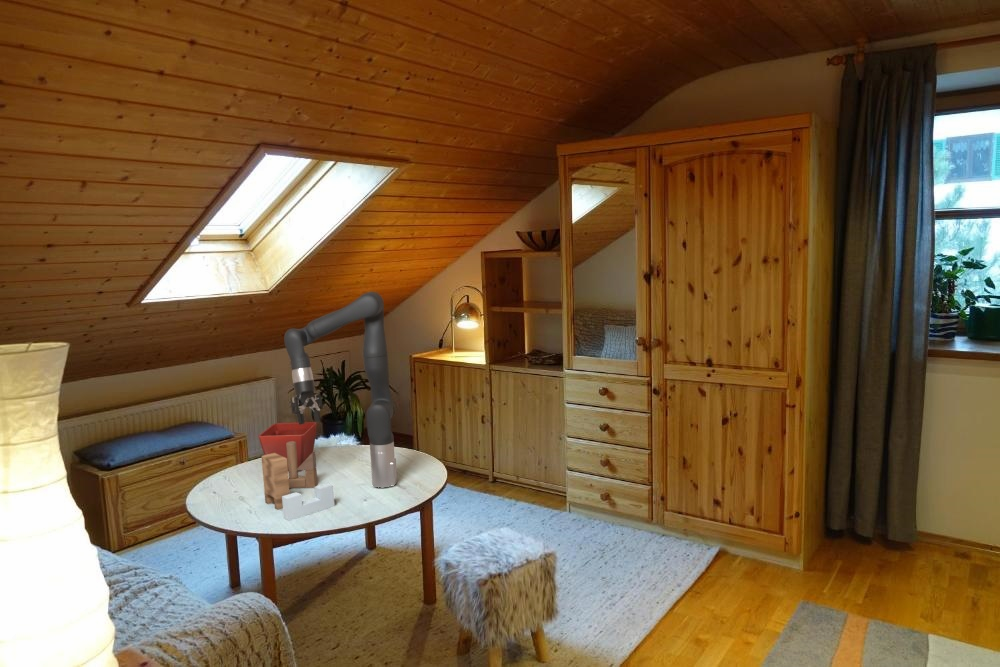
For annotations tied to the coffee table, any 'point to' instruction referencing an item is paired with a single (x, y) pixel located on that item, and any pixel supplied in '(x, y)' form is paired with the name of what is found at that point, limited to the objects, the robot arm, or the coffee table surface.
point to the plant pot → (289, 439)
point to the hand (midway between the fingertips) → (309, 423)
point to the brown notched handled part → (307, 465)
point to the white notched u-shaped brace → (308, 502)
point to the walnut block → (275, 479)
